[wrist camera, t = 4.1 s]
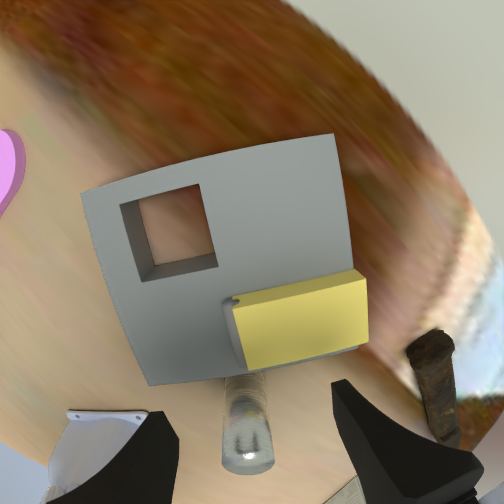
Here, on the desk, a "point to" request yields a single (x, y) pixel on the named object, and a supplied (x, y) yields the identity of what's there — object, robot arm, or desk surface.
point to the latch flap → (298, 320)
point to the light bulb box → (349, 494)
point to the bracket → (10, 166)
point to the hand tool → (437, 384)
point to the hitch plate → (220, 249)
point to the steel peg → (246, 425)
